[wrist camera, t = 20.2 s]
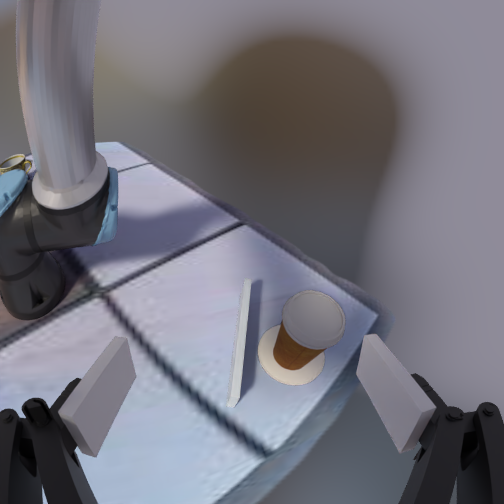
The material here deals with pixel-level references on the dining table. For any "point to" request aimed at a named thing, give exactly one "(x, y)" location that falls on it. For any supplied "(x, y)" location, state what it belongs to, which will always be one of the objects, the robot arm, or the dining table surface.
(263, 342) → the mat
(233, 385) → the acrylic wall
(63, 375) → the dining table surface
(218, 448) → the dining table surface
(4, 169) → the ceramic cup
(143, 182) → the dining table surface
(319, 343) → the disposable coffee cup
